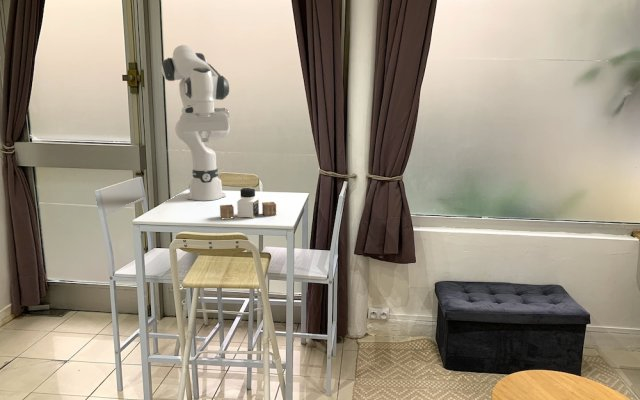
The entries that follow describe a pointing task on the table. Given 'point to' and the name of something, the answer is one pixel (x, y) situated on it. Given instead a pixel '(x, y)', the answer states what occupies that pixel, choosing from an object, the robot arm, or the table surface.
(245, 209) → the medicine bottle
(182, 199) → the table surface
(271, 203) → the walnut block two bars
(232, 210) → the walnut block one bar
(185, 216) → the table surface
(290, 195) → the table surface
